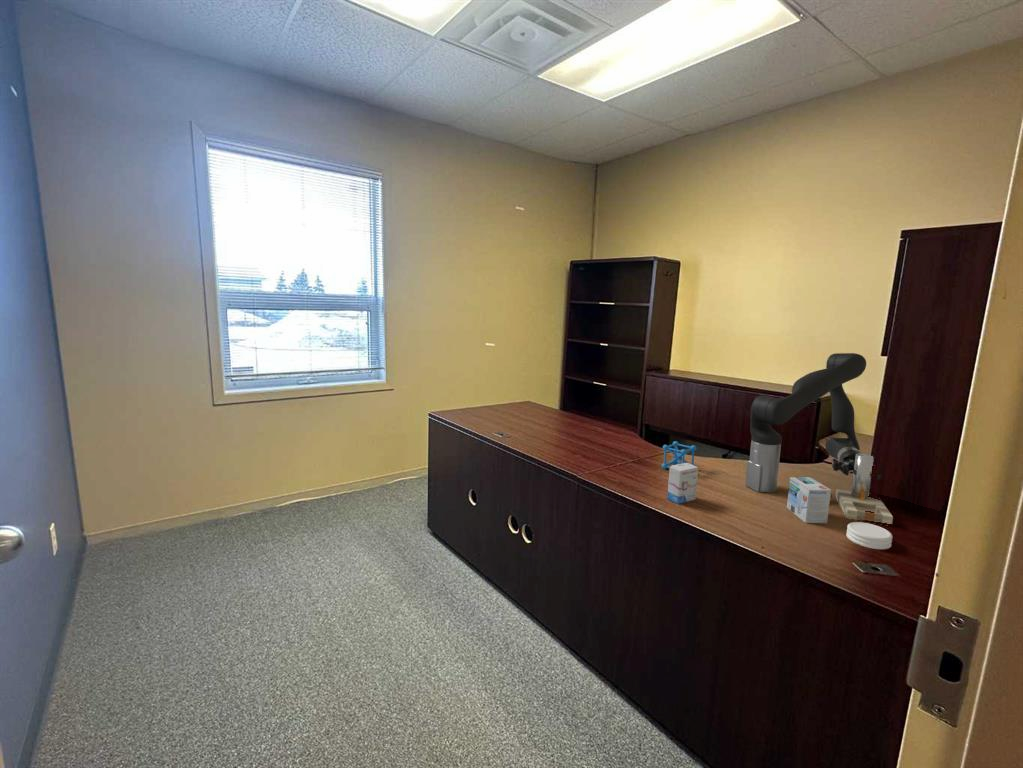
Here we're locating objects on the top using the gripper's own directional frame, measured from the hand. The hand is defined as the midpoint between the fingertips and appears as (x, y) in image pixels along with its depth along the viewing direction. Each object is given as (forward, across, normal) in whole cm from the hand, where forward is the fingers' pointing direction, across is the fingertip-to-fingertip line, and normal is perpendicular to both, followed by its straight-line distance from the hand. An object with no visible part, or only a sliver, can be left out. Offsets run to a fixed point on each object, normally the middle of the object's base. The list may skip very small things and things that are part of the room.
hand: (863, 474), depth 148 cm
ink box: (+18, -53, +11) cm, 57 cm away
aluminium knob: (-2, 0, +8) cm, 8 cm away
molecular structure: (-12, -57, +11) cm, 59 cm away
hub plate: (+3, 0, +11) cm, 11 cm away
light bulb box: (+15, -16, +11) cm, 25 cm away
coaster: (+26, -3, +12) cm, 28 cm away
